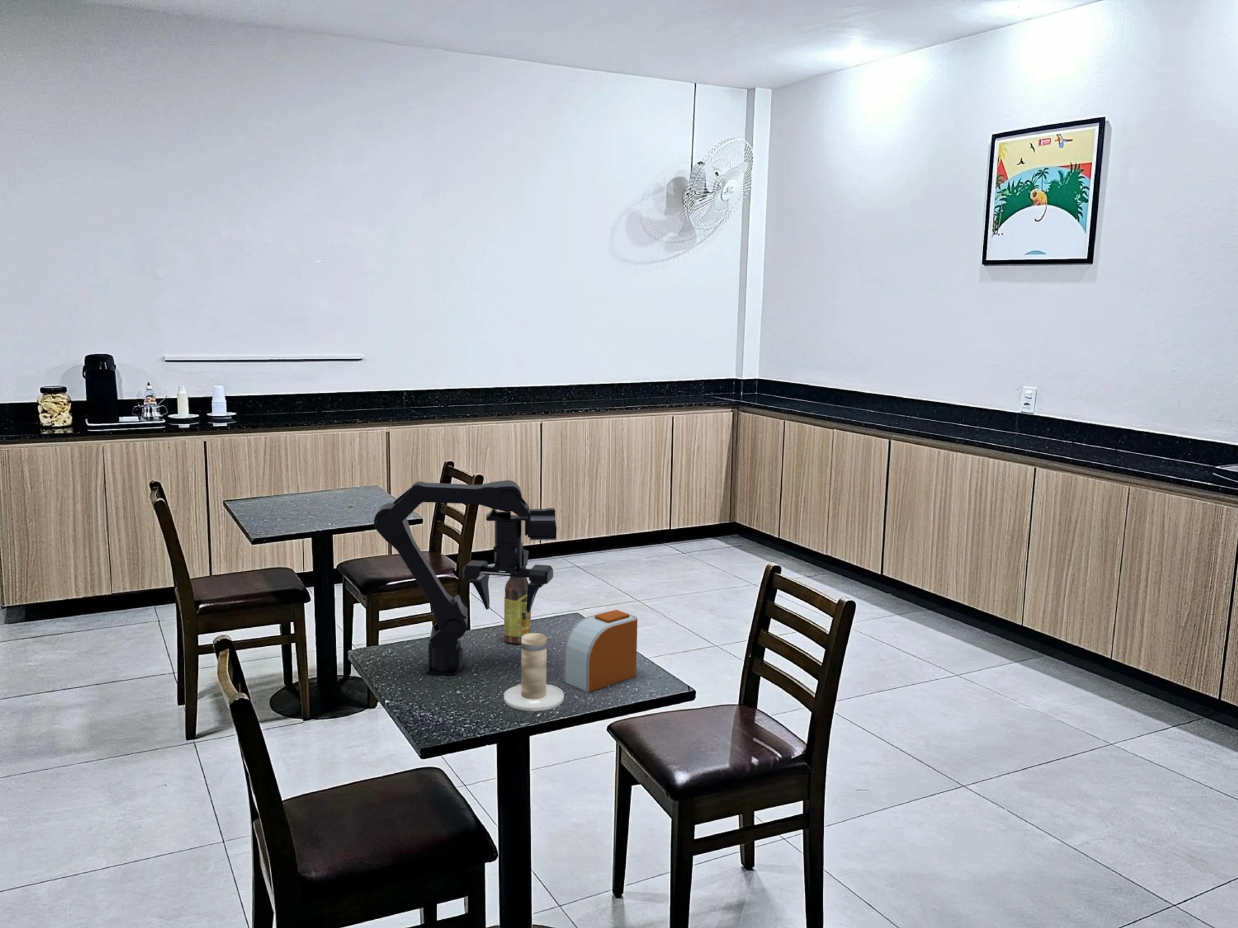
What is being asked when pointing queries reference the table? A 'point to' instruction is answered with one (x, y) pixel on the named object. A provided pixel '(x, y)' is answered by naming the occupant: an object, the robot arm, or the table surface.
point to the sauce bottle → (516, 609)
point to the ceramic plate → (520, 703)
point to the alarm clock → (601, 650)
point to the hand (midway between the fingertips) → (508, 610)
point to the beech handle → (533, 665)
